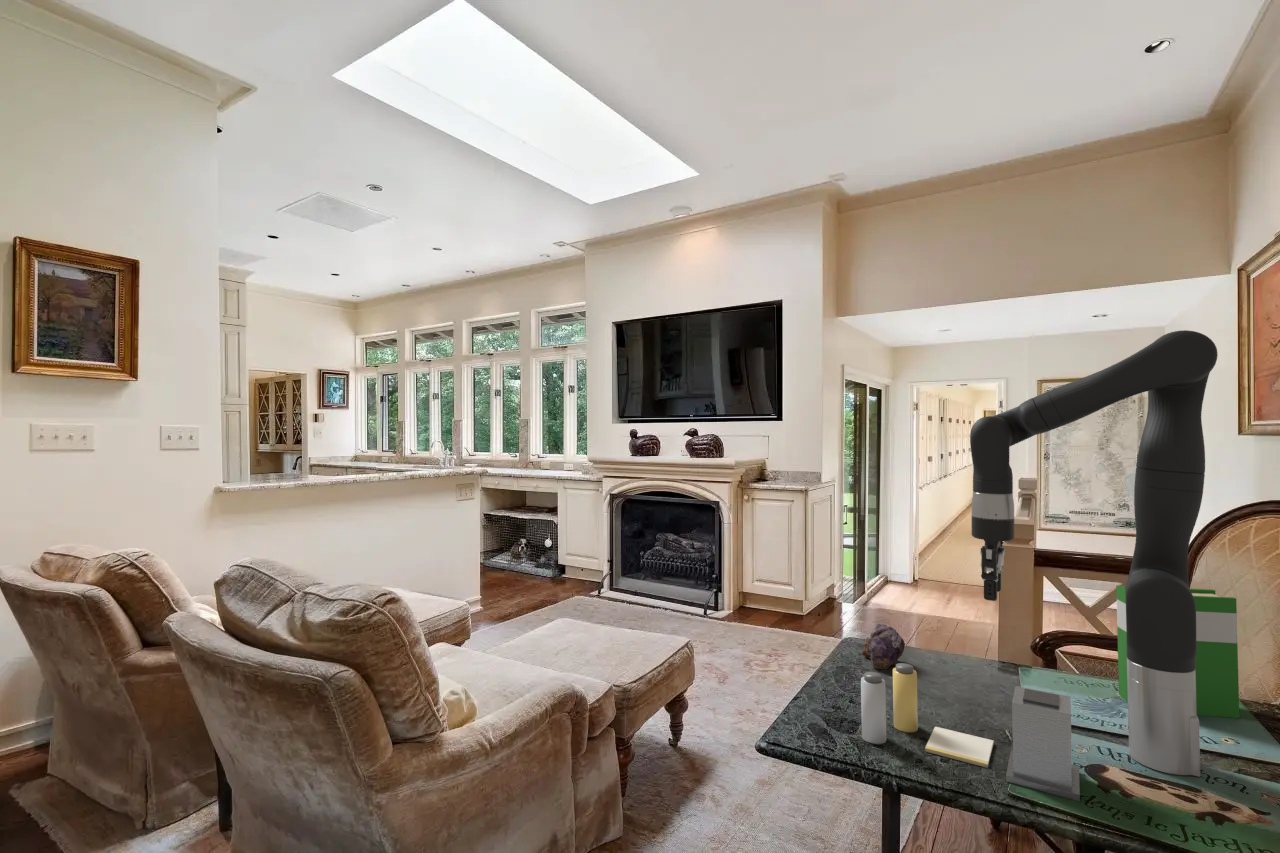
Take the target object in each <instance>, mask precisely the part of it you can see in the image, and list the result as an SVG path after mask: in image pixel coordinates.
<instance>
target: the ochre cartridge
mask: <svg viewBox="0 0 1280 853" xmlns="http://www.w3.org/2000/svg"><path fill="white" fill-rule="evenodd" d="M892 701H893V702H892V705H893V706H892V707H893V727H894V728H895V729H896V730H898V731H899V732H900V731H901V732H903V733H915V732H917V731H918V730H919V727H918V726H919V721H918V719H919V718H918V672H917V670H915V669H914V666H913V665H911V664H908V663H904V662H901V663H900V662H899V663H896V664H895V667H893V668H892Z"/></svg>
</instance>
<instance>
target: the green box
mask: <svg viewBox="0 0 1280 853" xmlns="http://www.w3.org/2000/svg"><path fill="white" fill-rule="evenodd" d="M1125 586H1126V585H1116V622H1117V623H1116V626H1117V627H1116V628H1117V629H1116V630H1117V632H1116V633H1117V634H1116V635H1117V666H1118V667H1117V668H1118V669H1117V670H1118V674H1117V675H1118V696H1120V697H1121V698H1123V699H1124V700H1125V701H1126V702H1127V703H1128V685H1127V648H1126V636H1127V631H1126V596H1125ZM1190 591H1191V593H1192V595H1193V597H1194V600H1195V605H1196V647H1197V652H1196V659H1195V674H1196V713H1197V716H1210V717H1220V718H1221V717H1223V718H1234V719H1240V697H1239V696H1240V694H1239V693H1240V689H1239V688H1240V687H1239V686H1240V685H1239V653H1238V648H1239V646H1238V618H1237V617H1238V613H1237V609H1238V608H1237V598H1236V597H1232V596H1231V597H1230V596H1219V595H1217V594H1216V590H1214V589H1210V588H1209V589H1207V588H1190Z"/></svg>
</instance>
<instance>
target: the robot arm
mask: <svg viewBox="0 0 1280 853" xmlns="http://www.w3.org/2000/svg"><path fill="white" fill-rule="evenodd" d="M1218 354H1219V353H1218V349H1217V346H1216V343H1214V341H1213V340H1212V339H1211V338H1210V337H1209V336H1207V335H1205V334H1203V333H1200V332H1198V331H1196V330H1195V331H1193V330H1175V331H1170V332H1168V333H1165V334H1164V335H1161V336H1160V337H1158V338H1157V339H1156V340H1154V341H1153V342H1152V343H1150V344H1149V345H1147V346H1145V347H1144V348H1142V349H1140V350H1138V351H1137V352H1135V353H1133V354H1131V355H1130V356H1128V357H1126V358H1124V359H1122V360H1120V361H1119V362H1116V363H1115V364H1111V365H1110V366H1108V367H1106V368H1104V369H1101V370H1098V371H1096V372H1095V373H1092V374H1090V375H1087V376H1084V377H1081V378H1079V379H1076V380H1074V381H1071V382H1069V383H1065V384H1063V385H1061V386H1058V387H1055V388H1053V389H1050V390H1048V391H1046V392H1043V393H1042V394H1039V395H1036V396H1033V397H1032V398H1030V399H1027V400H1025V401H1024V402H1021V404H1019V405H1018V406H1015V407H1013V408H1010V409H1009V410H1006V411H1003V412H1000V413H998V414H995V415H992V416H990V415H988V416H984V417H980V418H979V419H977V420H976V421H975V422H974V423H973V425H972V427H971V428H970V434H969V445H970V446H969V447H970V453H971V461H972V465H973V466H972V467H973V470H972V471H973V474H972V497H971V536H972V538H975V539H977V540H983V541H984V545H982V546H981V547H980V557H981V558H980V559H981V560H980V568H981V574H980V577H981V579H982V581H983V598H984V600H986V601H992V602H996V601H997V599H998V592H1001V590H1002V572H1003V571H1004V570H1003V567H1004V565H1005V558H1004V557H1005V553H1006V551H1005V550H1006V549H1005V547H1003V545H1004V542H1010V541H1013V540H1014V539H1015V502H1014V491H1013V489H1014V479H1013V469H1012V467H1011V464H1010V447H1012V446H1014V445H1016V444H1019V443H1021V442H1023V441H1026V440H1028V439H1029V438H1030V439H1031V438H1032V437H1033V436H1034V437H1035V436H1036V435H1041V434H1044V433H1047V432H1050V431H1053V430H1055V429H1058V428H1061V427H1064V426H1066V425H1069V424H1071V423H1073V422H1076V421H1079V420H1081V419H1083V418H1085V417H1088V416H1090V415H1092V414H1094V413H1096V412H1098V411H1100V410H1102V409H1104V408H1106V407H1109V406H1111V405H1113V404H1115V403H1118V402H1120V401H1123V400H1125V399H1128V398H1130V397H1133V396H1136V395H1139V394H1142V393H1145V392H1147V413H1146V417H1145V418H1146V419H1145V423H1144V425H1143V426H1144V427H1143V430H1142V434H1141V436H1140V437H1141V438H1140V442H1139V446H1138V453H1137V457H1136V464H1135V465H1136V466H1135V467H1136V468H1135V475H1134V486H1133V488H1134V490H1133V493H1134V494H1133V501H1134V502H1133V506H1134V507H1133V508H1134V510H1133V511H1134V522H1135V544H1134V549H1133V556H1132V561H1131V564H1130V570H1129V574H1128V577H1127V579H1126V583H1125V585H1124V586H1125V596H1126V631H1127V636H1126V648H1127V685H1128V702H1127V717H1128V720H1127V721H1128V723H1127V724H1128V726H1127V727H1128V754H1129V756H1130V757H1131V758H1132V759H1133V760H1134V761H1136V762H1137V763H1139V764H1140V765H1143V766H1145V767H1147V768H1149V769H1153V770H1155V771H1159V772H1162V773H1166V774H1171V775H1178V776H1193V777H1194V776H1195V777H1198V778H1199V777H1201V750H1200V749H1201V742H1200V739H1201V738H1200V720H1199V717H1198V715H1197V713H1196V674H1195V659H1196V652H1197V647H1196V605H1195V600H1194V597H1193V595H1192V593H1191V591H1190V589H1191V588H1190V582H1189V579H1190V578H1189V547H1190V542H1191V538H1192V535H1193V531H1194V529H1195V526H1196V524H1197V519H1198V517H1199V514H1200V511H1201V505H1202V501H1203V494H1204V486H1205V477H1206V474H1205V473H1206V451H1205V450H1206V448H1205V447H1206V446H1205V437H1204V432H1203V431H1204V430H1203V423H1202V411H1203V410H1202V409H1203V403H1204V397H1205V393H1206V387H1207V383H1208V380H1209V375H1210V373H1211V372H1212V370H1213V369H1214V368H1215V366H1216V362H1217V360H1218V356H1219V355H1218Z"/></svg>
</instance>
